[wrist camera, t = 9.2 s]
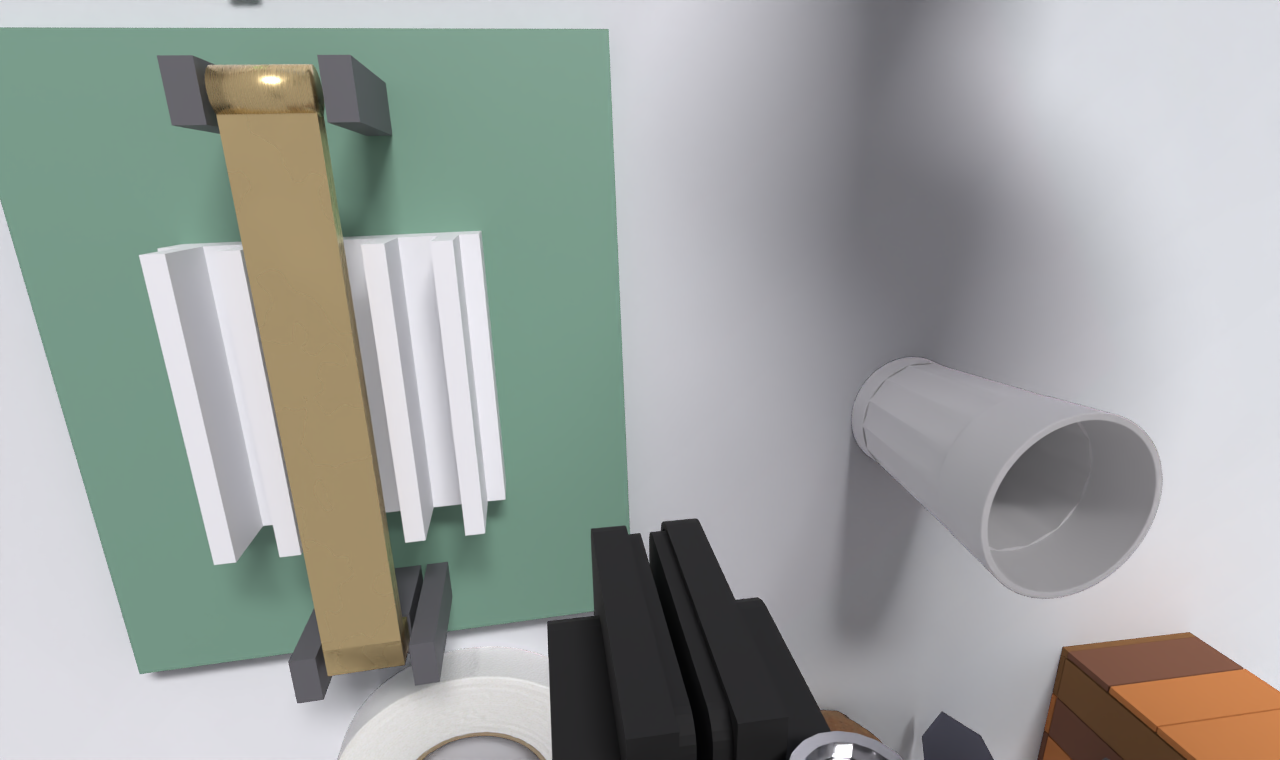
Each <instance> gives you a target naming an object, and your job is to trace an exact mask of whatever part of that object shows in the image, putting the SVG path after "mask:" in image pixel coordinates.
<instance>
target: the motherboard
mask: <svg viewBox="0 0 1280 760" xmlns="http://www.w3.org/2000/svg"><path fill="white" fill-rule="evenodd" d="M262 64H312V65H314V67H315V68H316V70H317V72H318V75H319V78H320V81H321V85H322V90H323V96H324V106H325V109H324V121H325V127H326V134H327V140H328V146H329V153H330V159H331V166H332V172H333V178H334V185H335V191H336V198H337V204H338V210H339V217H340V223H341V230H342V236H343V242H344V249H345V255H346V261H347V268H348V274H349V281H350V287H351V293H352V300H353V306H354V313H355V319H356V325H357V332H358V338H359V345H360V351H361V357H362V364H363V370H364V377H365V383H366V389H367V396H368V402H369V409H370V415H371V421H372V428H373V434H374V441H375V447H376V453H377V460H378V466H379V473H380V479H381V485H382V492H383V498H384V505H385V511H386V517H387V524H388V530H389V536H390V543H391V549H392V556H393V562H394V568H395V575H396V581H397V588H398V594H399V600H400V607H401V613H402V617H407V622H408V628H409V635H410V642H409V648H408V653H410V657H411V663H412V670H413V676H414V683H415V686H417V685H424V684H430V683H437V682H440V677H441V670H442V664H443V657H444V650H445V644H446V637H447V631H454V630H462V629H469V628H476V627H483V626H490V625H498V624H505V623H512V622H519V621H527V620H534V619H541V618H548V617H555V616H563V615H570V614H577V613H584V612H592V611H594V598H593V576H592V554H591V528H602V527H612V526H623V525H625V526H626V528H627V531H628V534H630V527H629V503H628V480H627V456H626V432H625V409H624V385H623V361H622V338H621V314H620V291H619V267H618V243H617V220H616V196H615V172H614V149H613V125H612V101H611V78H610V54H609V31H608V29H390V28H0V200H1V204H2V207H3V210H4V214H5V217H6V221H7V224H8V227H9V231H10V234H11V238H12V241H13V244H14V248H15V251H16V255H17V258H18V261H19V265H20V268H21V272H22V275H23V278H24V282H25V285H26V289H27V292H28V295H29V299H30V302H31V306H32V309H33V312H34V316H35V319H36V323H37V326H38V329H39V333H40V336H41V340H42V343H43V346H44V350H45V353H46V357H47V360H48V363H49V367H50V370H51V374H52V377H53V380H54V384H55V387H56V391H57V394H58V397H59V401H60V404H61V408H62V411H63V415H64V418H65V421H66V425H67V428H68V432H69V435H70V438H71V442H72V445H73V449H74V452H75V455H76V459H77V462H78V466H79V469H80V472H81V476H82V479H83V483H84V486H85V489H86V493H87V496H88V500H89V503H90V506H91V510H92V513H93V517H94V520H95V523H96V527H97V530H98V534H99V537H100V540H101V544H102V547H103V551H104V554H105V557H106V561H107V564H108V568H109V571H110V574H111V578H112V581H113V585H114V588H115V591H116V595H117V598H118V602H119V605H120V608H121V612H122V615H123V619H124V622H125V625H126V629H127V632H128V636H129V639H130V643H131V646H132V649H133V653H134V656H135V660H136V663H137V666H138V670H139V673H140V674H144V673H151V672H159V671H166V670H173V669H180V668H187V667H195V666H202V665H209V664H216V663H223V662H231V661H238V660H245V659H252V658H260V657H267V656H274V655H281V654H288V653H292V656H291V658H290V660H289V662H288V663H289V667H290V672H291V676H292V681H293V686H294V690H295V695H296V699H297V703H304V702H310V701H317V700H324V697H325V694H326V691H327V689H328V686H329V683H330V681H331V678H332V676H328V674H327V669H326V664H325V659H324V654H323V649H322V644H321V639H320V634H319V629H318V624H317V619H316V614H315V609H314V604H313V599H312V594H311V589H310V584H309V579H308V574H307V569H306V564H305V559H304V554H303V548H302V543H301V538H300V533H299V528H298V523H297V518H296V513H295V508H294V503H293V498H292V493H291V488H290V483H289V478H288V473H287V468H286V463H285V458H284V453H283V448H282V443H281V438H280V433H279V428H278V423H277V418H276V413H275V408H274V403H273V398H272V393H271V387H270V382H269V377H268V372H267V367H266V362H265V357H264V352H263V347H262V342H261V337H260V332H259V327H258V322H257V317H256V312H255V307H254V302H253V297H252V292H251V287H250V282H249V277H248V272H247V267H246V262H245V257H244V252H243V247H242V242H241V237H240V232H239V226H238V221H237V216H236V211H235V206H234V201H233V196H232V191H231V186H230V181H229V176H228V171H227V166H226V161H225V156H224V151H223V146H222V141H221V136H220V131H219V126H218V121H217V116H216V113H215V112H214V110H213V108H212V106H211V104H210V101H209V99H208V95H207V91H206V86H205V70H206V67H207V66H208V65H262Z"/></svg>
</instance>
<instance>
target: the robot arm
mask: <svg viewBox="0 0 1280 760" xmlns="http://www.w3.org/2000/svg"><path fill="white" fill-rule="evenodd" d="M591 554H592V576H593V598H594V616H590V617H581V618H573V619H564V620H555V621H548V622H547V627H548V657H549V685H550V713H551V741H552V760H904V759H903V758H902V757H901V756H899V755H898V754H897V753H896V752H895V751H893V750H892V749H890V748H889V747H887V746H885V745H884V744H882V743H881V742H879V741H877V740H874V739H872V738H869V737H866V736H863V735H861V734H858V733H851V732H843V731H832V732H831V730H830V728H829V726H828V724H827V722H826V720H825V719H824V717H823V715H822V713H821V711H820V709H819V707H818V705H817V703H816V701H815V699H814V697H813V695H812V694H811V692H810V690H809V688H808V686H807V684H806V682H805V680H804V678H803V676H802V674H801V672H800V671H799V669H798V667H797V665H796V663H795V661H794V659H793V657H792V655H791V653H790V651H789V649H788V647H787V646H786V644H785V642H784V640H783V638H782V636H781V634H780V632H779V630H778V628H777V626H776V624H775V623H774V621H773V619H772V617H771V615H770V613H769V611H768V609H767V607H766V606H765V604H764V603H763V601H762V600H761V599H759V598H758V597H757V598H748V599H740V600H735V598H734V596H733V594H732V592H731V589H730V587H729V585H728V583H727V581H726V579H725V576H724V574H723V572H722V570H721V568H720V566H719V563H718V561H717V559H716V557H715V555H714V552H713V550H712V548H711V546H710V544H709V542H708V539H707V537H706V535H705V533H704V531H703V529H702V526H701V524H700V522H699V520H698V519H686V520H675V521H665V522H662V525H661V531H658V532H650V536H649V558H650V565H649V561H648V558H647V554H646V551H645V548H644V544H643V541H642V537H641V534H640V533H637V534H628V531H627V528H626V526H625V525H623V526H612V527H602V528H591Z"/></svg>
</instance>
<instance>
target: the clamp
mask: <svg viewBox="0 0 1280 760" xmlns="http://www.w3.org/2000/svg"><path fill="white" fill-rule="evenodd" d="M1044 730H1045V731H1044V733H1043V737H1042V742H1041V746H1040V751H1039V755H1038V760H1280V692H1279V691H1278V690H1276V689H1275V688H1273V687H1272V686H1270V685H1269V684H1267V683H1266V682H1264V681H1263V680H1261V679H1260V678H1258V677H1257V676H1255V675H1254V674H1252V673H1251V672H1249V671H1248V670H1246V669H1243V667H1241V666H1240V665H1238V664H1237V663H1235V662H1234V661H1232V660H1231V659H1229V658H1228V657H1226V656H1225V655H1223V654H1222V653H1220V652H1219V651H1217V650H1216V649H1214V648H1213V647H1211V646H1209V645H1208V644H1206V643H1205V642H1203V641H1202V640H1200V639H1199V638H1197V637H1196V636H1194V635H1193V634H1191V633H1190V632H1187V633H1178V634H1170V635H1161V636H1153V637H1144V638H1136V639H1127V640H1119V641H1110V642H1102V643H1093V644H1085V645H1076V646H1068V647H1063V649H1062V653H1061V657H1060V662H1059V666H1058V670H1057V675H1056V679H1055V684H1054V688H1053V693H1052V697H1051V702H1050V706H1049V711H1048V715H1047V720H1046V724H1045V728H1044ZM922 742H923V752H924V760H994V759H993V757H992V756H991V754H990V752H989V750H988V748H987V746H986V744H985V743H984V741H983V739H982V737H981V736H980V735H979V734H977V733H976V732H974V731H972V730H971V729H969V728H968V727H966V726H964V725H963V724H961V723H960V722H958V721H956V720H955V719H953V718H952V717H950V716H948V715H947V714H945V713H944V712H941V713H940V714H939V716H938V717H937V718H936V719H935V721H934V722H933V723H932V724H931V726H930V727H929V728H928V729H927V731H926V732H925V733H924V735H923V736H922Z"/></svg>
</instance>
